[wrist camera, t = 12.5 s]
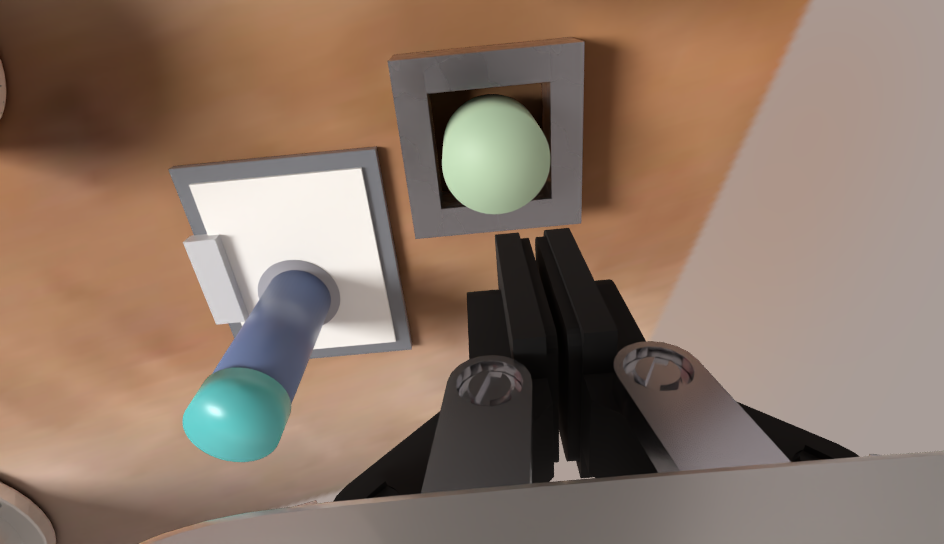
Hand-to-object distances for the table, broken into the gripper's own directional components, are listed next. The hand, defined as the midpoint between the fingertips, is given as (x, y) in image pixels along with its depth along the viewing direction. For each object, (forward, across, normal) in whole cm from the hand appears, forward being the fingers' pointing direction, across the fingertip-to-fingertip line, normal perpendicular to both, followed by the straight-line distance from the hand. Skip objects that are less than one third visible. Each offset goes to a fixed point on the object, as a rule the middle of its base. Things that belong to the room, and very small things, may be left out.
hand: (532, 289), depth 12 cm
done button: (+13, 0, 0) cm, 13 cm away
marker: (+14, +11, +8) cm, 19 cm away
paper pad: (+14, +11, +6) cm, 19 cm away
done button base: (+15, 0, 0) cm, 15 cm away
